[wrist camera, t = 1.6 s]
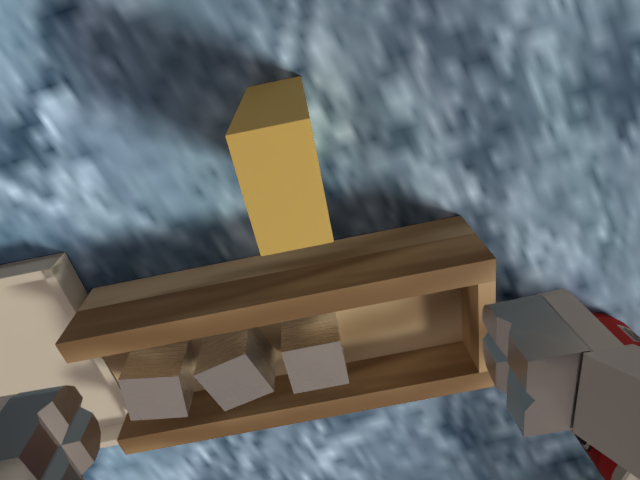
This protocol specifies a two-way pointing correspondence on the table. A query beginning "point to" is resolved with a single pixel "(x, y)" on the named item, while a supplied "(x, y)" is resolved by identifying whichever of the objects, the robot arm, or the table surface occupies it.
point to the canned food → (610, 471)
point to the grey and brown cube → (159, 381)
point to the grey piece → (236, 367)
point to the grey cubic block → (313, 353)
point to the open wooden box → (300, 302)
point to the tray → (51, 339)
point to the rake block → (279, 167)
